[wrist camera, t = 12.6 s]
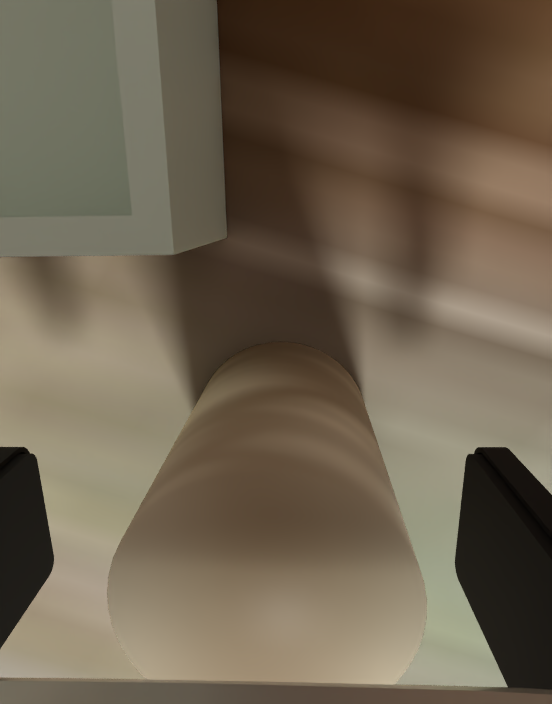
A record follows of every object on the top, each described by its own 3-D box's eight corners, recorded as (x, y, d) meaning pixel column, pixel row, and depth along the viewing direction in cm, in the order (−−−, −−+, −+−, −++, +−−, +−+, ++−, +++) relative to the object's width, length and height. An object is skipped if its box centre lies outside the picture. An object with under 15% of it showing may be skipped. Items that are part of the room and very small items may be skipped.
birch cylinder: (369, 342, 13) (440, 472, 7) (362, 496, 15) (415, 736, 8) (193, 341, 13) (88, 469, 7) (203, 494, 15) (124, 723, 8)
